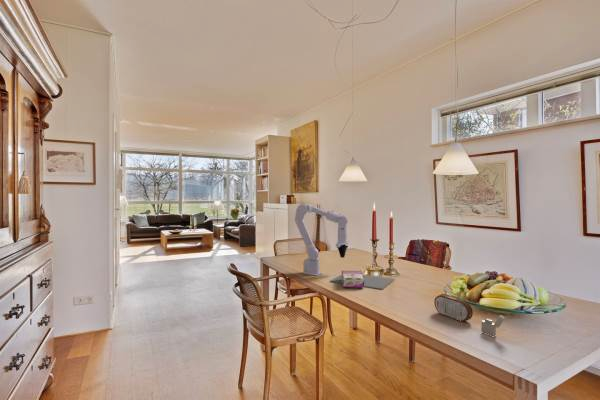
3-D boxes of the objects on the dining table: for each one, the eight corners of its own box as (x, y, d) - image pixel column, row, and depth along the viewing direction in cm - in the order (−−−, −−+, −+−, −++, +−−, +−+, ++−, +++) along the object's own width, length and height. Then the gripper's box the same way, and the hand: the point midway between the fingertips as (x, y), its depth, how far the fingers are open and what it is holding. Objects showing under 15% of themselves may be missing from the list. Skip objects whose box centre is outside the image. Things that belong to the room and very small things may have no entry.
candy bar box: (341, 279, 183) (342, 287, 167) (341, 270, 183) (342, 277, 167) (361, 279, 182) (364, 288, 166) (361, 270, 182) (364, 278, 166)
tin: (473, 323, 121) (473, 301, 121) (468, 325, 120) (468, 302, 120) (437, 311, 134) (437, 291, 134) (433, 312, 133) (433, 292, 132)
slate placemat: (330, 281, 180) (330, 280, 180) (346, 273, 199) (346, 272, 199) (382, 289, 164) (382, 288, 164) (394, 279, 183) (394, 278, 183)
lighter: (481, 333, 113) (481, 310, 113) (483, 331, 114) (483, 309, 114) (502, 340, 107) (502, 317, 107) (505, 339, 108) (505, 316, 108)
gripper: (343, 237, 188) (343, 260, 188) (353, 234, 200) (353, 255, 201) (332, 236, 192) (332, 258, 192) (342, 233, 204) (342, 254, 204)
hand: (342, 257), depth 196 cm, fingers closed
